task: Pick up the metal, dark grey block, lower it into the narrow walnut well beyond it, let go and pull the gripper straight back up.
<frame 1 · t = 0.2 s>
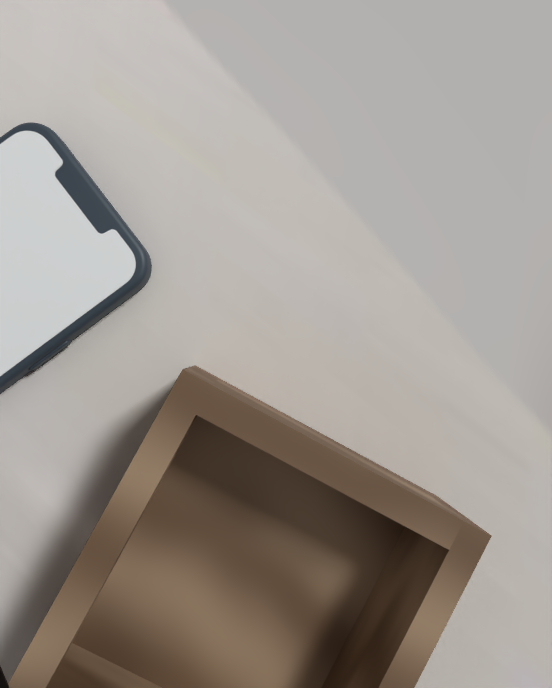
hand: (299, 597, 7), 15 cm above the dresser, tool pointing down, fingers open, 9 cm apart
well: (246, 567, 23), on the dresser
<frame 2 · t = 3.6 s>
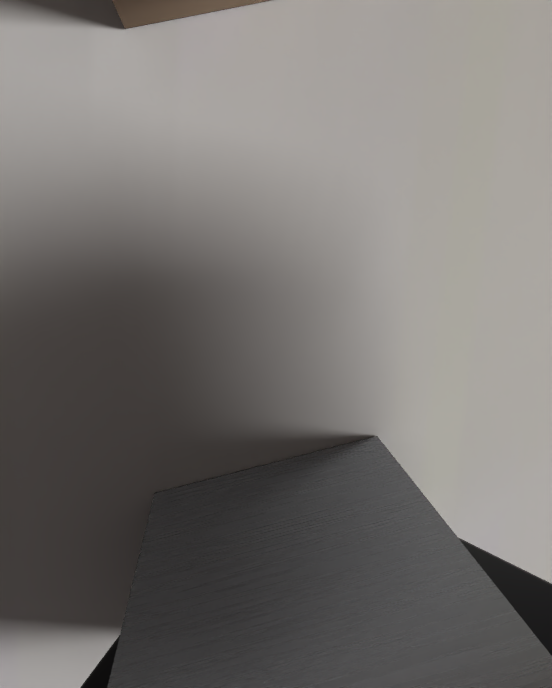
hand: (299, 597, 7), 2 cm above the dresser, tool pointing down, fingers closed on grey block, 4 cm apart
grey block: (285, 537, 9), on the dresser, touching gripper
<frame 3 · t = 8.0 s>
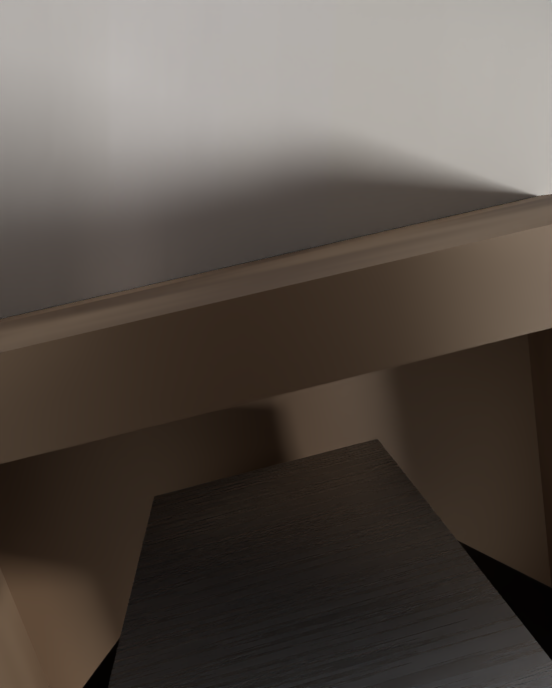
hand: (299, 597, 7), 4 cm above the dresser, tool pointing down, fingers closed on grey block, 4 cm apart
grey block: (285, 540, 9), point 2 cm above the dresser, touching gripper
well: (288, 536, 12), on the dresser
when the fingers open (4 cm above the dresser, at t = 8.2 s): grey block drops 1 cm, resting on well.
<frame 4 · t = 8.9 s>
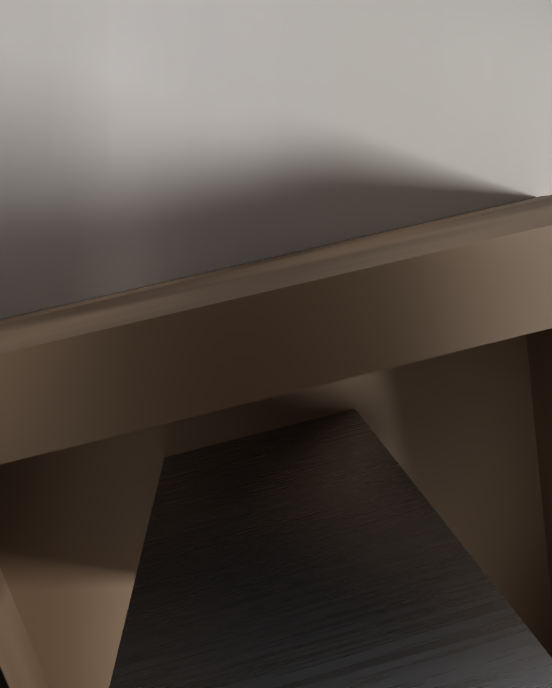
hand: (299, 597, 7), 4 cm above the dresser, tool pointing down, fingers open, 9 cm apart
grey block: (276, 496, 10), point 1 cm above the dresser, touching well
well: (287, 536, 12), on the dresser
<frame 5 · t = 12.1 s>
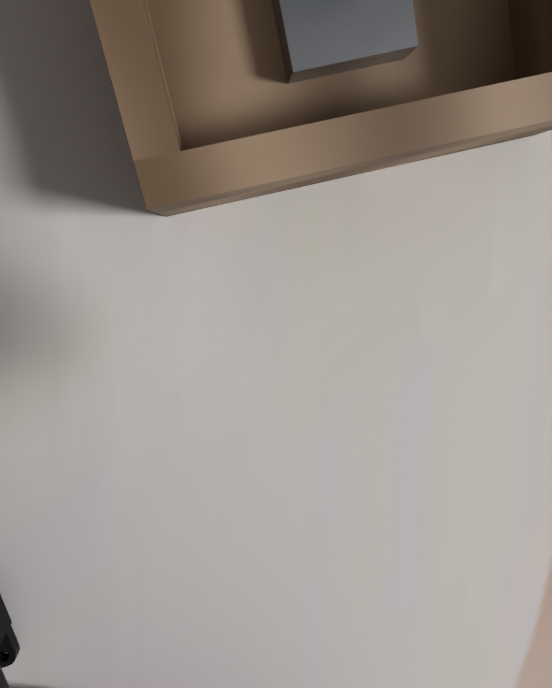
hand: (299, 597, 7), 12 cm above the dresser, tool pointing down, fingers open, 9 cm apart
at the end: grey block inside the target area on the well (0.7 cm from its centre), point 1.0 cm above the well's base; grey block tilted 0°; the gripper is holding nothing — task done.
